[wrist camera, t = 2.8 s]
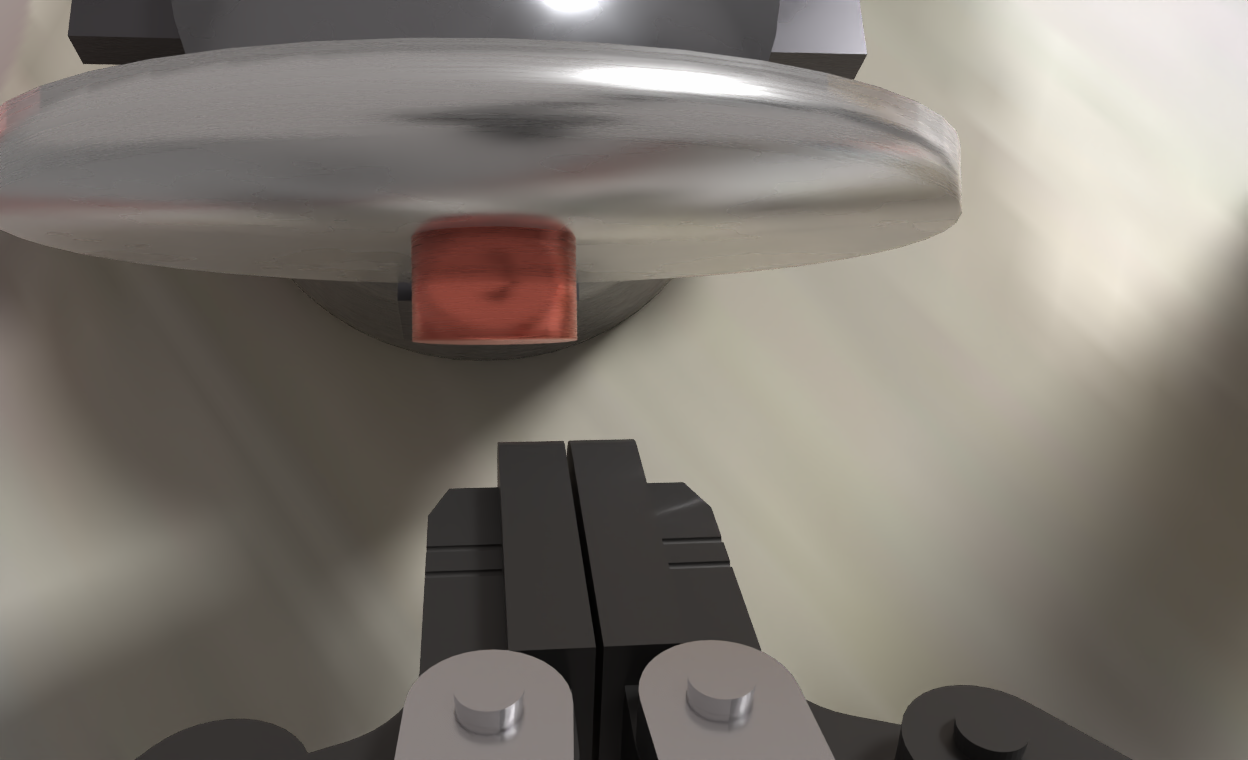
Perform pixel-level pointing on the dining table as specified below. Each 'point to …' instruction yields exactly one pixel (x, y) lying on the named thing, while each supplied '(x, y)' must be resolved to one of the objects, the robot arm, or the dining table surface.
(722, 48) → the cooker pot
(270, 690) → the dining table surface
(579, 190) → the lid
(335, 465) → the dining table surface
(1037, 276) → the dining table surface
